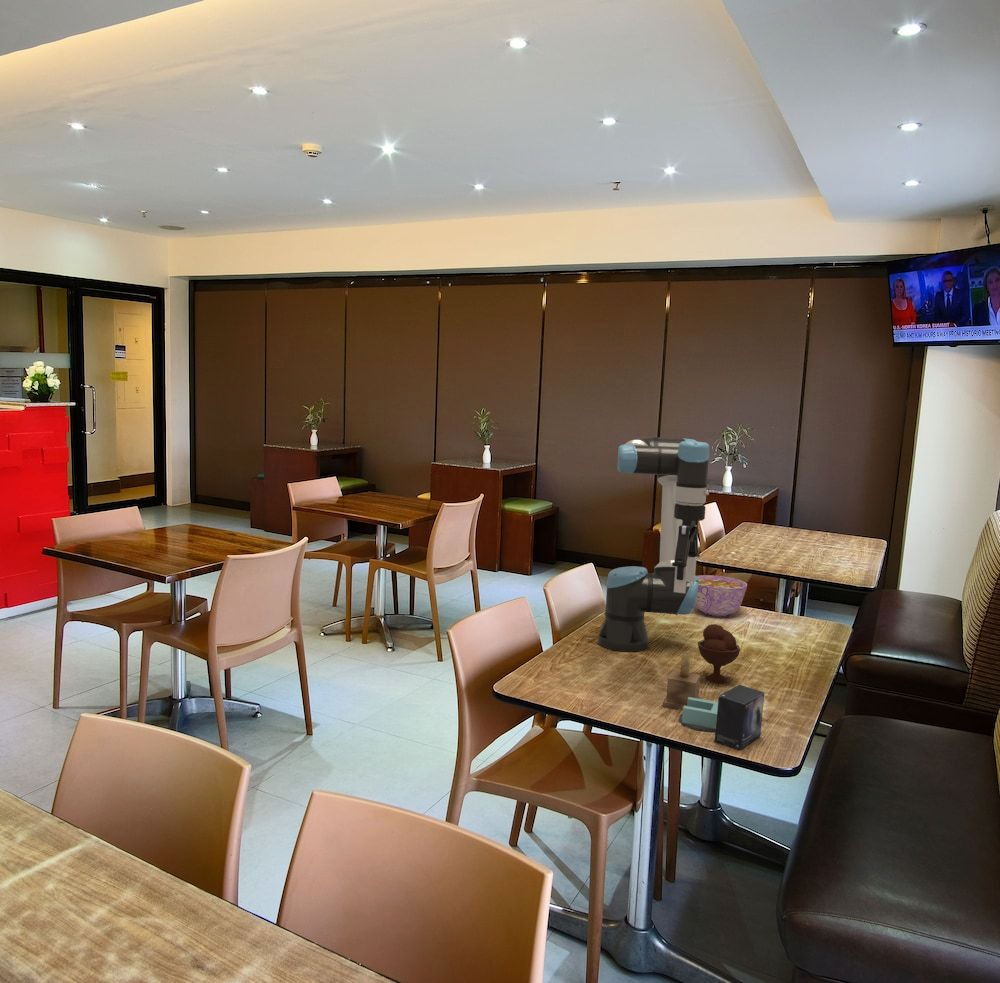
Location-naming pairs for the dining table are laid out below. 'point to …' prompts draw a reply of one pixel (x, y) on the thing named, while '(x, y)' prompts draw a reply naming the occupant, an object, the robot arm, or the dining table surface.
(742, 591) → the bowl of food
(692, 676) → the stand
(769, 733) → the dining table surface
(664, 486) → the robot arm
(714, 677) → the ice cream bowl
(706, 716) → the c link
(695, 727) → the coaster
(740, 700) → the small box
